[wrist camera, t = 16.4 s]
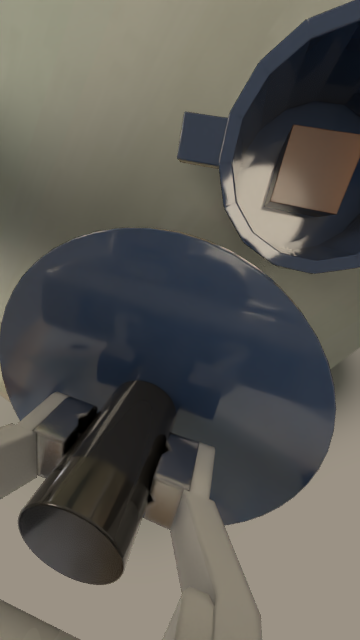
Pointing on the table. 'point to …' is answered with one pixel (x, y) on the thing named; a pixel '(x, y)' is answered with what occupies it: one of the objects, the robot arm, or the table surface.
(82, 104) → the table surface
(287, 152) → the block
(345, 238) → the pot
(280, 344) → the lid
